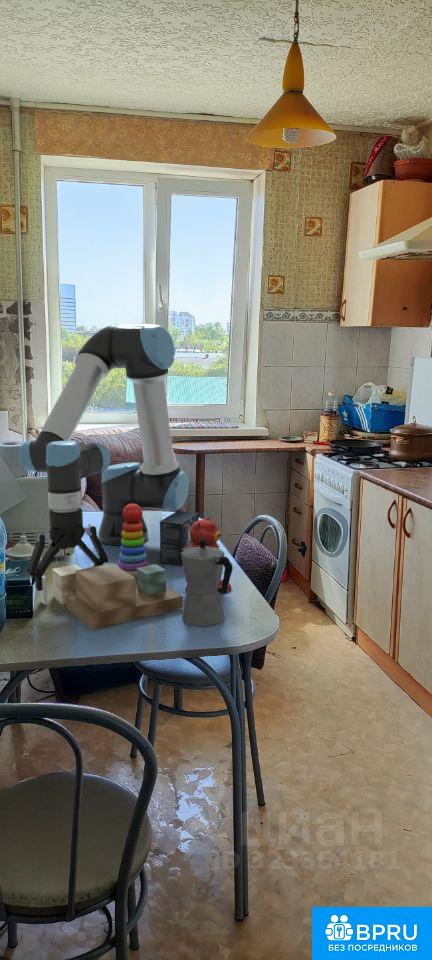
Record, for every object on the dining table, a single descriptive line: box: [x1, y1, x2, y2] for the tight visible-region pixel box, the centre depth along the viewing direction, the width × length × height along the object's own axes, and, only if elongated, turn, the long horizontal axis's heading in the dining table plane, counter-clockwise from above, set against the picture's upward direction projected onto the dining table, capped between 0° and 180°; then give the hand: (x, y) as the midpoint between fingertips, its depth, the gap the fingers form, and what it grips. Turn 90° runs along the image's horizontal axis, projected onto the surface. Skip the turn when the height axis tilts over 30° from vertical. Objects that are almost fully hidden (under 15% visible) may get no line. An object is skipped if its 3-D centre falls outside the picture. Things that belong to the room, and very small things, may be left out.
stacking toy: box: [117, 504, 148, 579], centre depth 179 cm, size 8×8×19 cm
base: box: [65, 563, 184, 631], centre depth 157 cm, size 22×15×9 cm
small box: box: [159, 510, 200, 567], centre depth 193 cm, size 13×7×12 cm, turn 161°
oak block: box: [51, 564, 83, 606], centre depth 164 cm, size 6×6×7 cm
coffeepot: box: [181, 539, 234, 627], centre depth 149 cm, size 15×9×18 cm, turn 43°
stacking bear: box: [184, 517, 232, 593], centre depth 167 cm, size 11×10×18 cm
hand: (70, 597), depth 164 cm, fingers open, 12 cm apart
